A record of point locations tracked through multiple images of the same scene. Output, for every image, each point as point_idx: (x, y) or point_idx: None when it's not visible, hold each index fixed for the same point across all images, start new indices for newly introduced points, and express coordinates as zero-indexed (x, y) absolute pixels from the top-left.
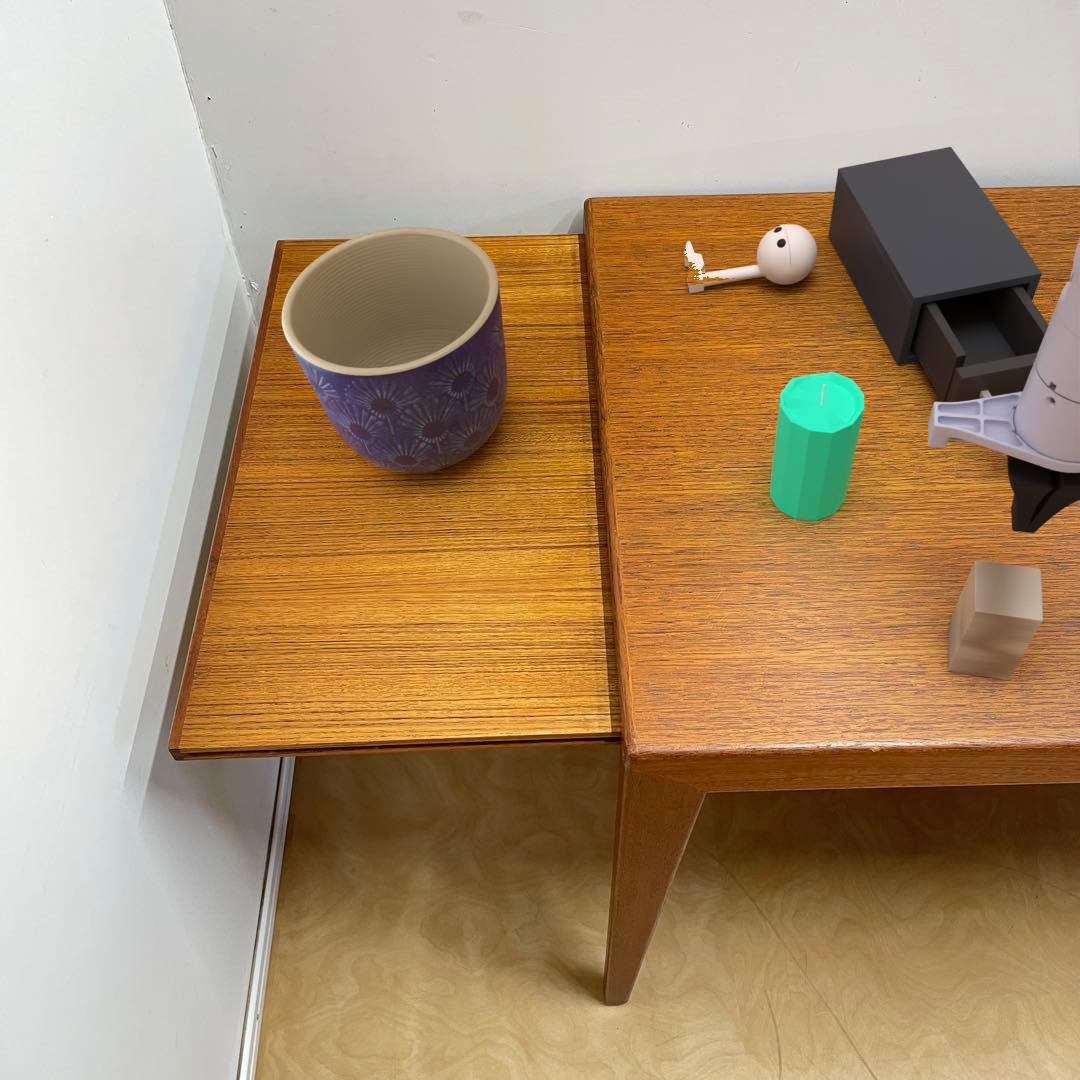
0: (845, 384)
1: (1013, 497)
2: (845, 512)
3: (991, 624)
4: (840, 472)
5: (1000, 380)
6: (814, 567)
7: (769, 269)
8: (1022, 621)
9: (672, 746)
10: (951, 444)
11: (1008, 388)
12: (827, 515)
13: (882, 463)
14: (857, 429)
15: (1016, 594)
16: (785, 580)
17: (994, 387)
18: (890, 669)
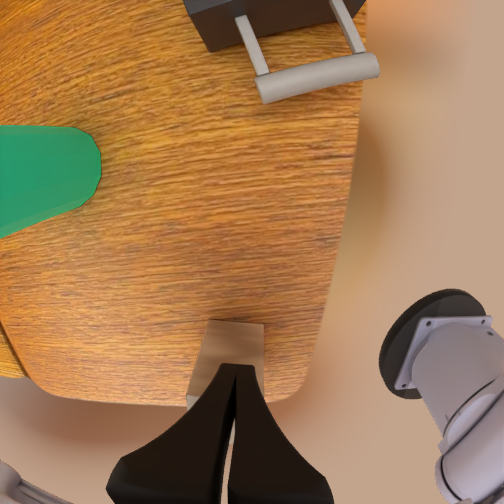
0: None
1: (216, 372)
2: (103, 190)
3: None
4: (48, 210)
5: (261, 3)
6: (86, 264)
7: None
8: None
9: (56, 395)
10: (221, 67)
11: (279, 8)
12: (86, 200)
13: (139, 109)
14: (12, 204)
15: (232, 428)
16: (69, 280)
17: (255, 10)
18: (163, 360)
